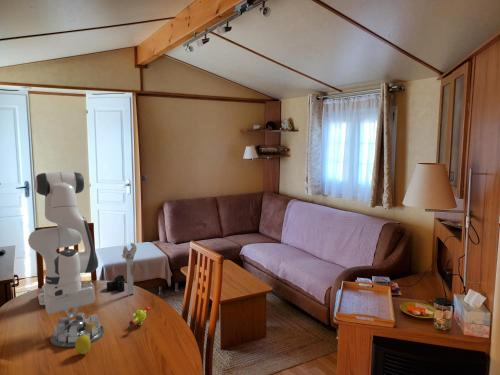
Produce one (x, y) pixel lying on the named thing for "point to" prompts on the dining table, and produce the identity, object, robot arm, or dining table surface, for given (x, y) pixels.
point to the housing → (80, 328)
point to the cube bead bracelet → (76, 328)
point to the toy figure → (139, 316)
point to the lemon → (82, 344)
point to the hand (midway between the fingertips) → (71, 317)
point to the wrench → (129, 266)
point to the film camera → (116, 284)
